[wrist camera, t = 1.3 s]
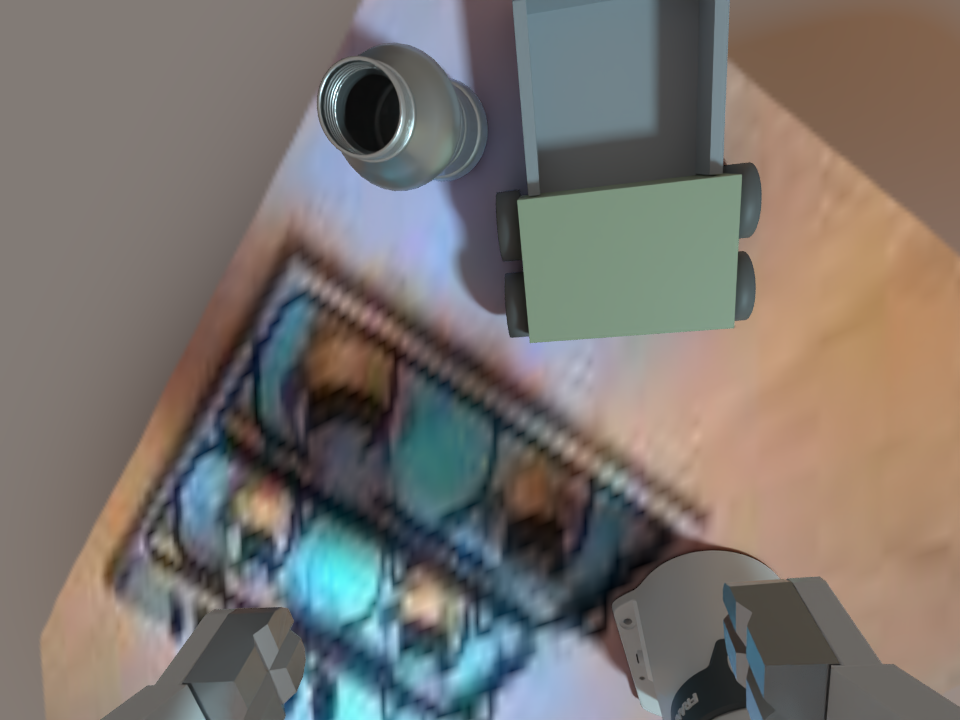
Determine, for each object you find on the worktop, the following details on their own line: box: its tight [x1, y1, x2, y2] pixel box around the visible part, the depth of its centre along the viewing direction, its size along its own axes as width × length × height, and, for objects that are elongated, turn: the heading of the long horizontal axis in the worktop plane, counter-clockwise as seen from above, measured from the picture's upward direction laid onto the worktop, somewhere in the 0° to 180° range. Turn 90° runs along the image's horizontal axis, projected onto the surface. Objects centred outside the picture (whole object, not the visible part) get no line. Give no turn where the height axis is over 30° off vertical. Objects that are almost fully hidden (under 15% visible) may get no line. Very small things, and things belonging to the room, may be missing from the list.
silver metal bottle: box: [317, 43, 488, 191], centre depth 30 cm, size 6×7×20 cm
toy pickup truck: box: [496, 0, 761, 343], centre depth 36 cm, size 23×17×6 cm
